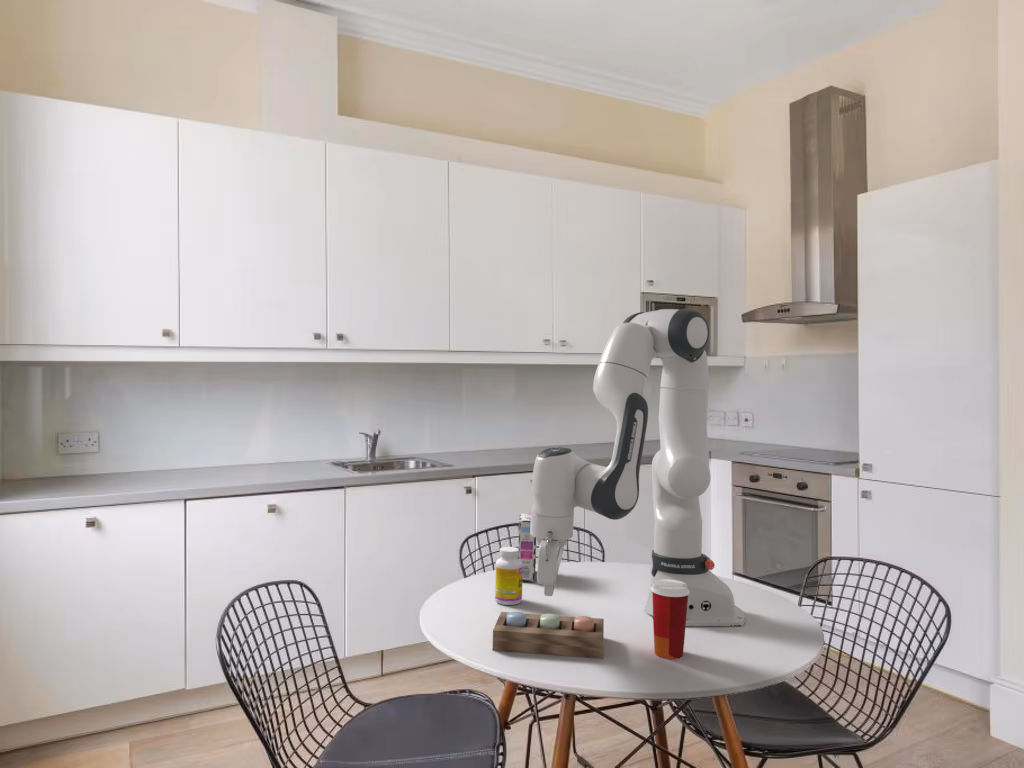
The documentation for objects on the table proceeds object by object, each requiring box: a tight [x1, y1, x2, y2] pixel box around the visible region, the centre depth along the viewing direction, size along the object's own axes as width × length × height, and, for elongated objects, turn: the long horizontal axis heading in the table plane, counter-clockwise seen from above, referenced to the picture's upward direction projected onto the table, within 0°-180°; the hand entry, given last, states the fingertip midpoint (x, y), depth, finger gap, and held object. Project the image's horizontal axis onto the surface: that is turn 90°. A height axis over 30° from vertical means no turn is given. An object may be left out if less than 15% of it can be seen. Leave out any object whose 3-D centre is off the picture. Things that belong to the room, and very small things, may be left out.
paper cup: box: [649, 579, 690, 660], centre depth 138 cm, size 8×8×14 cm
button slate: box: [507, 611, 527, 627], centre depth 143 cm, size 4×4×2 cm
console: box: [492, 611, 605, 659], centre depth 142 cm, size 22×11×4 cm, turn 82°
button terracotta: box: [574, 615, 594, 632], centre depth 141 cm, size 4×4×2 cm
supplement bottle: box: [494, 546, 523, 606], centre depth 168 cm, size 7×7×13 cm
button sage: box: [540, 613, 560, 629], centre depth 142 cm, size 4×4×2 cm
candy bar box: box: [517, 512, 537, 583], centre depth 189 cm, size 11×5×16 cm, turn 178°
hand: (549, 593), depth 142 cm, fingers closed
